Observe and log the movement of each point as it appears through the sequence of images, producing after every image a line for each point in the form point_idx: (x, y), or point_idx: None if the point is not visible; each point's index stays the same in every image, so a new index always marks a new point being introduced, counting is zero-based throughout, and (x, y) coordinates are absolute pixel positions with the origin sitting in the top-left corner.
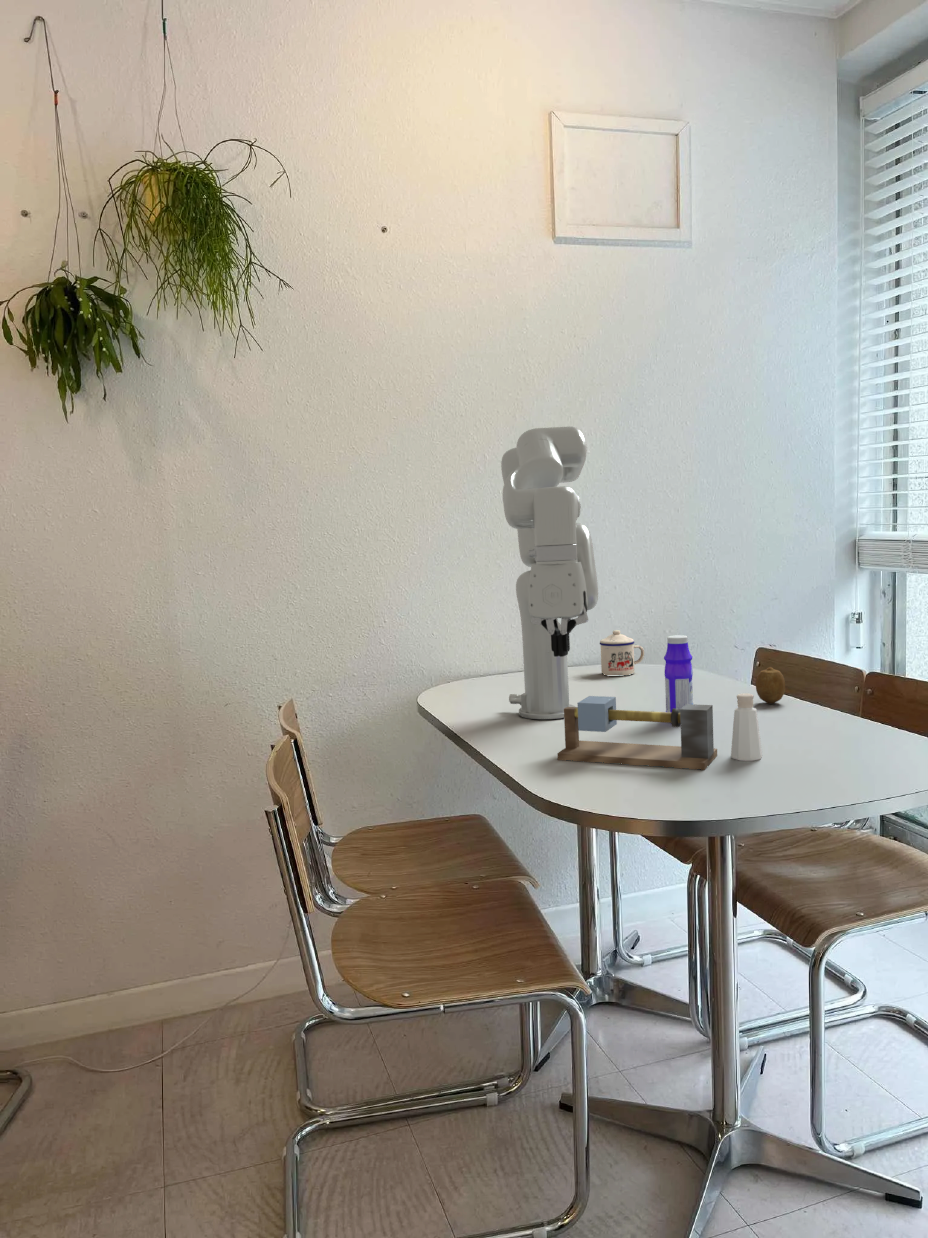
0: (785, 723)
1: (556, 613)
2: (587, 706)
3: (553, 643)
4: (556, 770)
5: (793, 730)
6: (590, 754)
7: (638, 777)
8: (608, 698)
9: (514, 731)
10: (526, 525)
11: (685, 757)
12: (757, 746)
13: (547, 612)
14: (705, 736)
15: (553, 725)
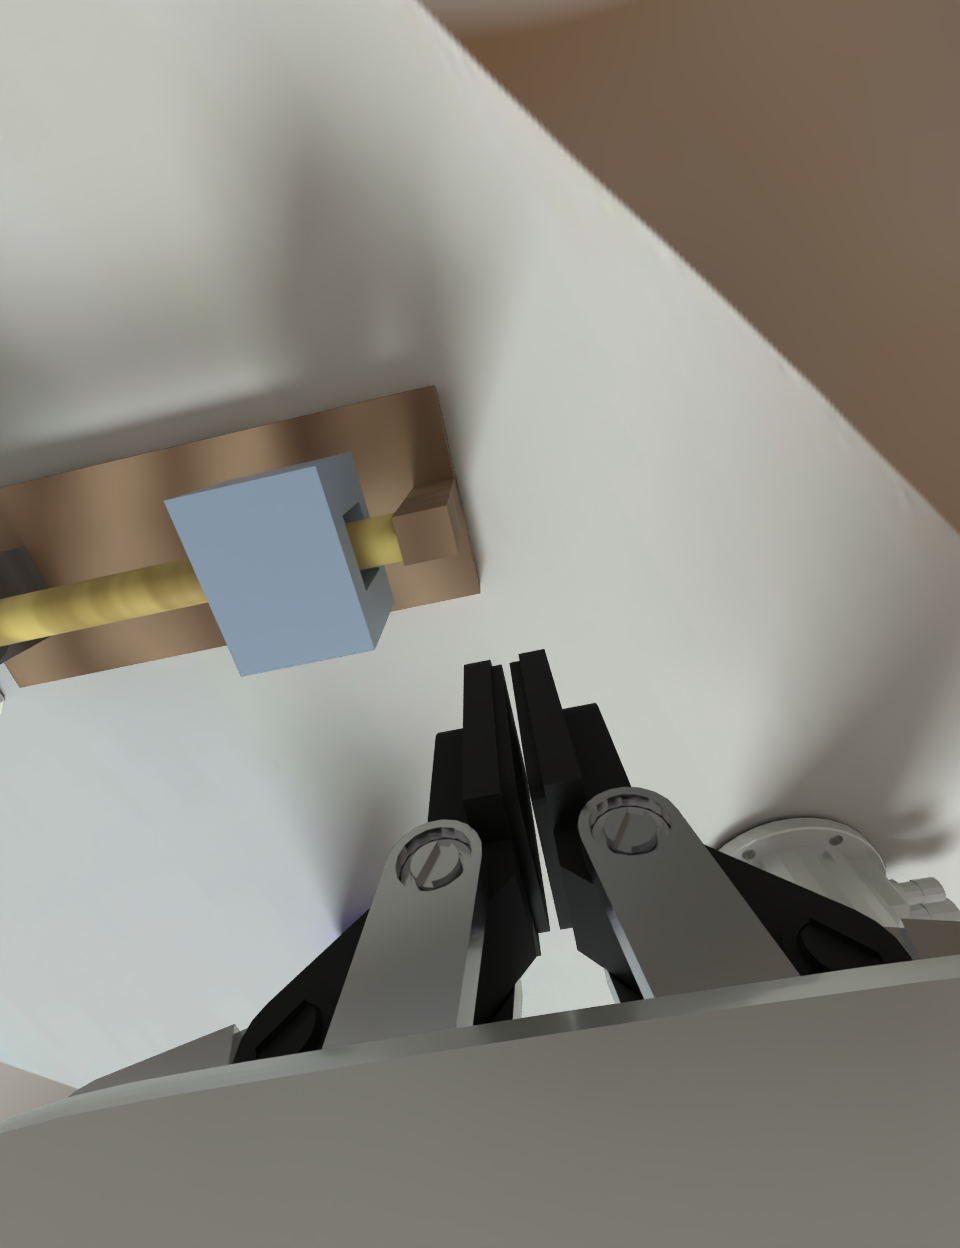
0: (136, 1002)
1: (442, 1180)
2: (265, 476)
3: (558, 710)
4: (347, 235)
5: (73, 958)
6: (310, 430)
7: (26, 304)
8: (245, 631)
9: (794, 673)
10: None
11: (10, 547)
12: None
13: (814, 1188)
14: None
15: (699, 784)
